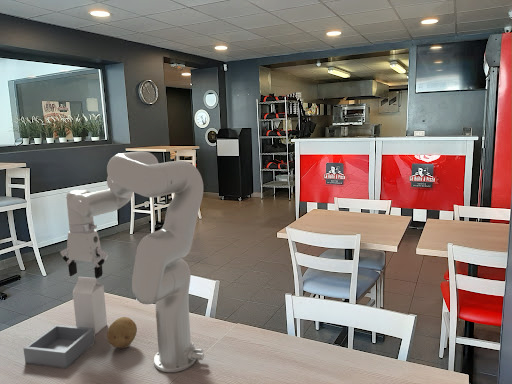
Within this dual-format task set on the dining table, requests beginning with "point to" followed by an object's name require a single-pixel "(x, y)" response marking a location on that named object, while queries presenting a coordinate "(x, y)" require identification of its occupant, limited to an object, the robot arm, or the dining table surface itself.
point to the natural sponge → (122, 332)
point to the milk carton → (89, 304)
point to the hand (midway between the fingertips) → (86, 275)
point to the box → (59, 346)
